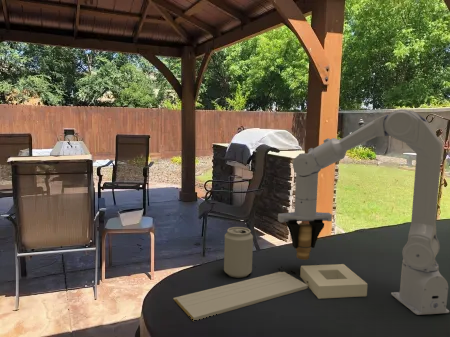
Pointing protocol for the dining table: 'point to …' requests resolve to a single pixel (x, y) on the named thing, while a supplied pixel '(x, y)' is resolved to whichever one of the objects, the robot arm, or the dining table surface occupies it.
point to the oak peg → (304, 241)
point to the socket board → (333, 281)
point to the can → (238, 252)
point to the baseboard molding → (238, 294)
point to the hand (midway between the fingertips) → (303, 246)
